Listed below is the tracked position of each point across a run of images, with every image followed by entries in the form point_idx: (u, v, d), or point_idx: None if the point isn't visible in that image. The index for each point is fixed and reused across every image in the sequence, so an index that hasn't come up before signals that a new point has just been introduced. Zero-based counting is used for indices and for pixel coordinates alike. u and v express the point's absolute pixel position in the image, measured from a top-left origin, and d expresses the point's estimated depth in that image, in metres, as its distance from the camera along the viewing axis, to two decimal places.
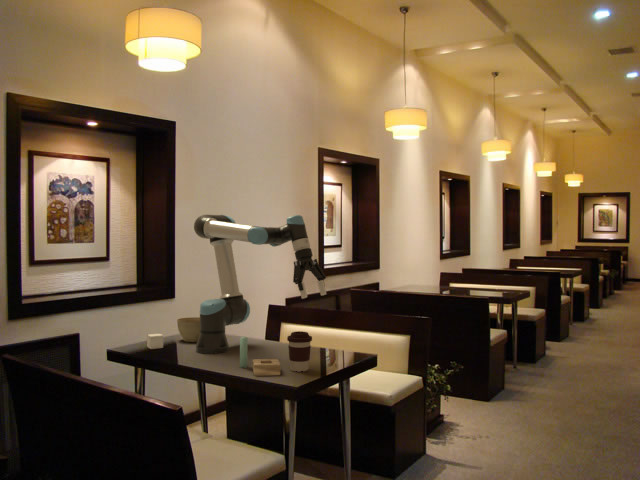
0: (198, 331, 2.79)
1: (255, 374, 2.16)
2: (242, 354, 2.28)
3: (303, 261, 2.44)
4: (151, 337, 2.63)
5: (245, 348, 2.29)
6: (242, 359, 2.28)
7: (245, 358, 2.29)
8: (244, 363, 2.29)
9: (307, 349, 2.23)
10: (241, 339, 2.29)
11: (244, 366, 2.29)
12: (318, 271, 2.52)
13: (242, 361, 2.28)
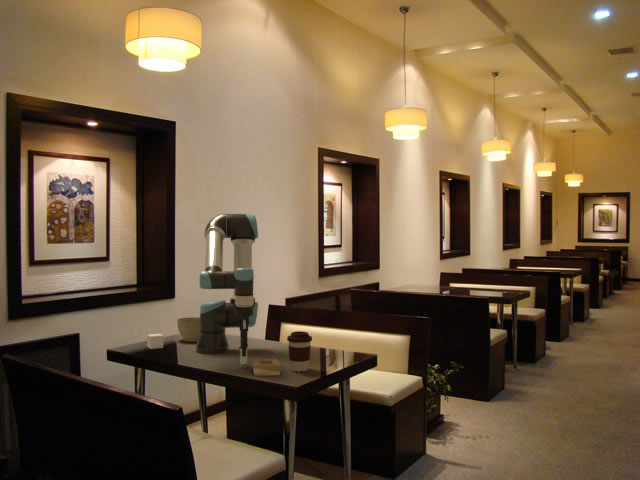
0: (198, 331, 2.79)
1: (255, 374, 2.16)
2: None
3: None
4: (151, 337, 2.63)
5: None
6: None
7: None
8: None
9: (307, 349, 2.23)
10: None
11: (244, 366, 2.29)
12: None
13: None
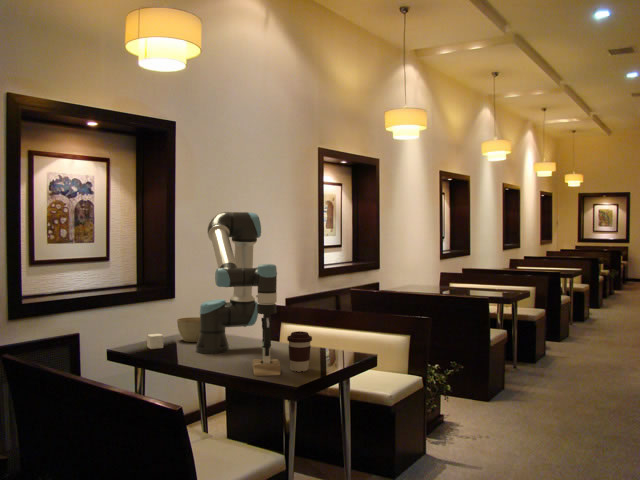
0: (198, 331, 2.79)
1: (255, 374, 2.16)
2: None
3: (263, 316, 2.24)
4: (151, 337, 2.63)
5: None
6: None
7: None
8: None
9: (307, 349, 2.23)
10: None
11: None
12: None
13: None
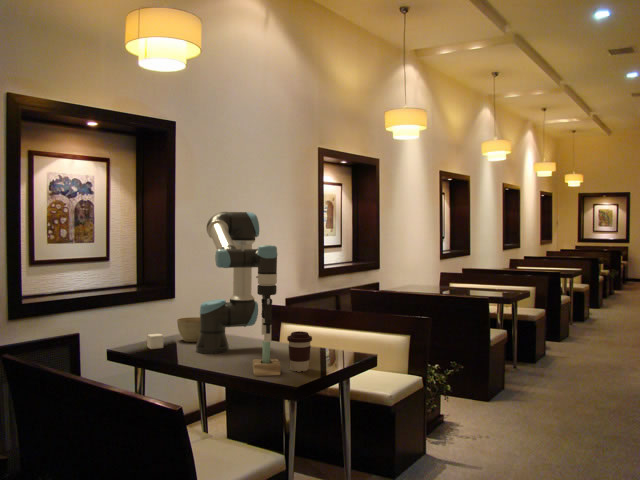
0: (198, 331, 2.79)
1: (255, 374, 2.16)
2: (265, 359, 2.20)
3: (263, 297, 2.24)
4: (151, 337, 2.63)
5: (268, 353, 2.20)
6: None
7: None
8: None
9: (307, 349, 2.23)
10: (264, 343, 2.20)
11: None
12: None
13: None
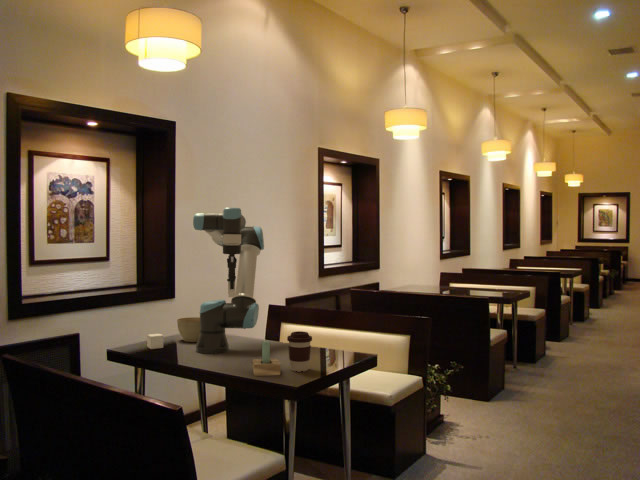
0: (198, 331, 2.79)
1: (255, 374, 2.16)
2: (264, 359, 2.20)
3: None
4: (151, 337, 2.63)
5: (267, 353, 2.20)
6: None
7: None
8: None
9: (307, 349, 2.23)
10: (263, 343, 2.20)
11: None
12: None
13: None
